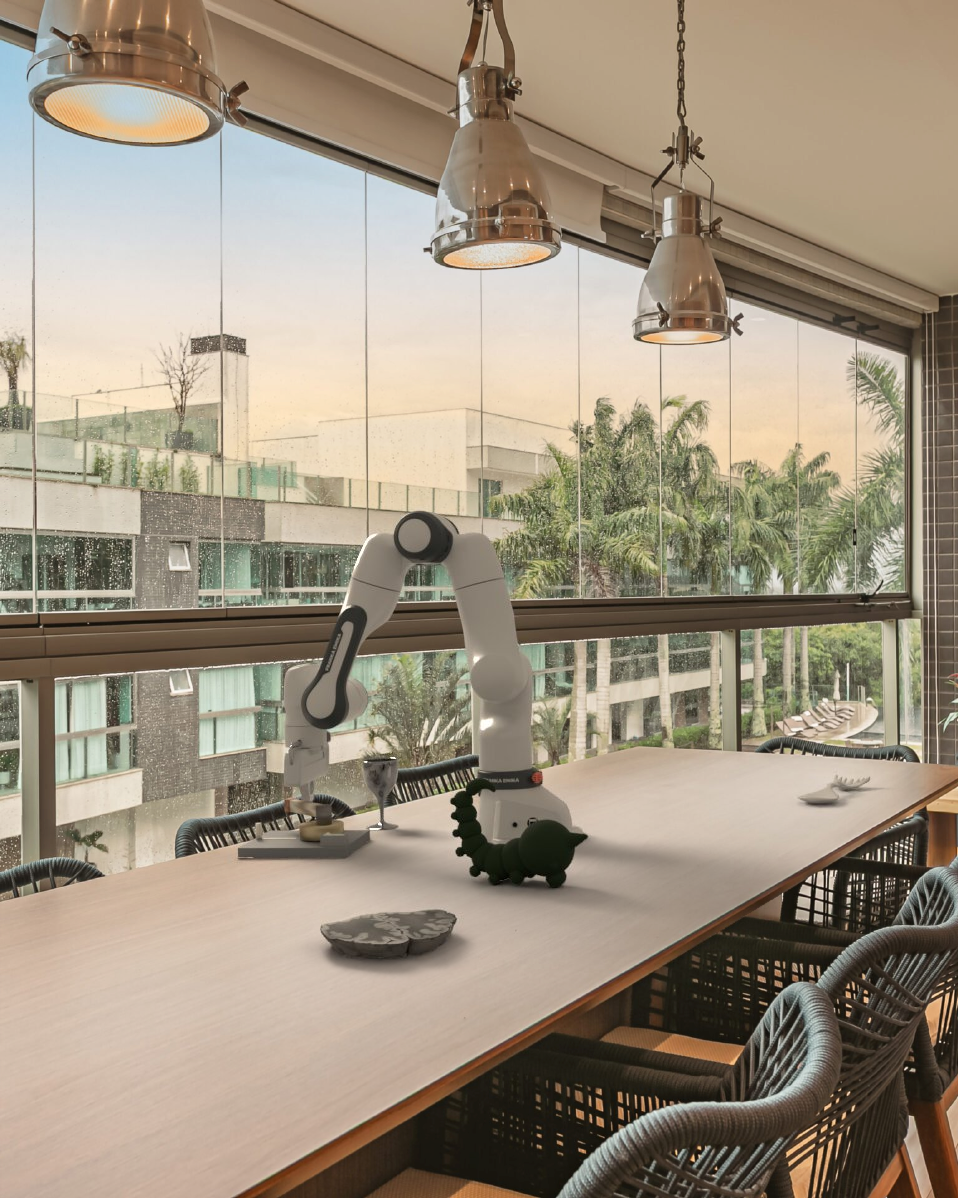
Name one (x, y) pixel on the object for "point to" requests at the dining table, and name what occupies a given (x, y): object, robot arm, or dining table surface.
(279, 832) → the stand
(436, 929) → the brain slice
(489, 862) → the toy figurine
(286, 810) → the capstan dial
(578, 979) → the dining table surface
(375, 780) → the wine glass
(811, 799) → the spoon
